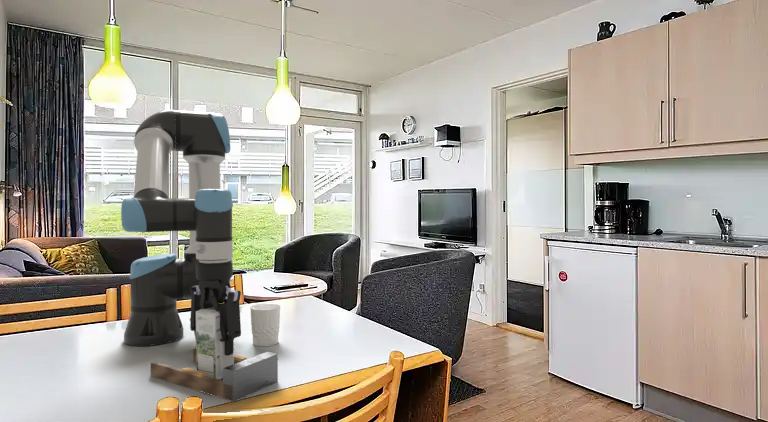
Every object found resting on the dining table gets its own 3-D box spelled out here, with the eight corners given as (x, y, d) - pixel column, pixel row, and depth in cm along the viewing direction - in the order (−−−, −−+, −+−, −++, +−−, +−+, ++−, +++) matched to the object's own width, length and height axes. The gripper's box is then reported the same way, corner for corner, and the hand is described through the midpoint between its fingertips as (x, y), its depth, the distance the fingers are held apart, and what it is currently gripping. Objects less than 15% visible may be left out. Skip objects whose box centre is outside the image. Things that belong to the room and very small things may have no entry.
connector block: (223, 398, 94) (223, 368, 94) (267, 378, 104) (267, 351, 104) (233, 401, 92) (233, 371, 92) (277, 381, 103) (277, 353, 103)
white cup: (272, 348, 126) (272, 310, 126) (245, 346, 128) (245, 309, 127) (285, 339, 134) (284, 304, 133) (258, 338, 135) (258, 302, 135)
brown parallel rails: (150, 376, 106) (150, 360, 106) (197, 360, 116) (197, 345, 116) (231, 401, 93) (231, 383, 93) (276, 380, 103) (276, 364, 103)
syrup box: (235, 372, 106) (234, 307, 105) (215, 382, 100) (214, 313, 100) (215, 368, 108) (215, 304, 108) (195, 377, 103) (194, 310, 102)
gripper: (171, 259, 105) (172, 363, 106) (231, 265, 95) (232, 380, 96) (200, 256, 112) (201, 354, 112) (258, 261, 102) (259, 369, 102)
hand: (215, 366), depth 104 cm, fingers closed on syrup box, 6 cm apart
